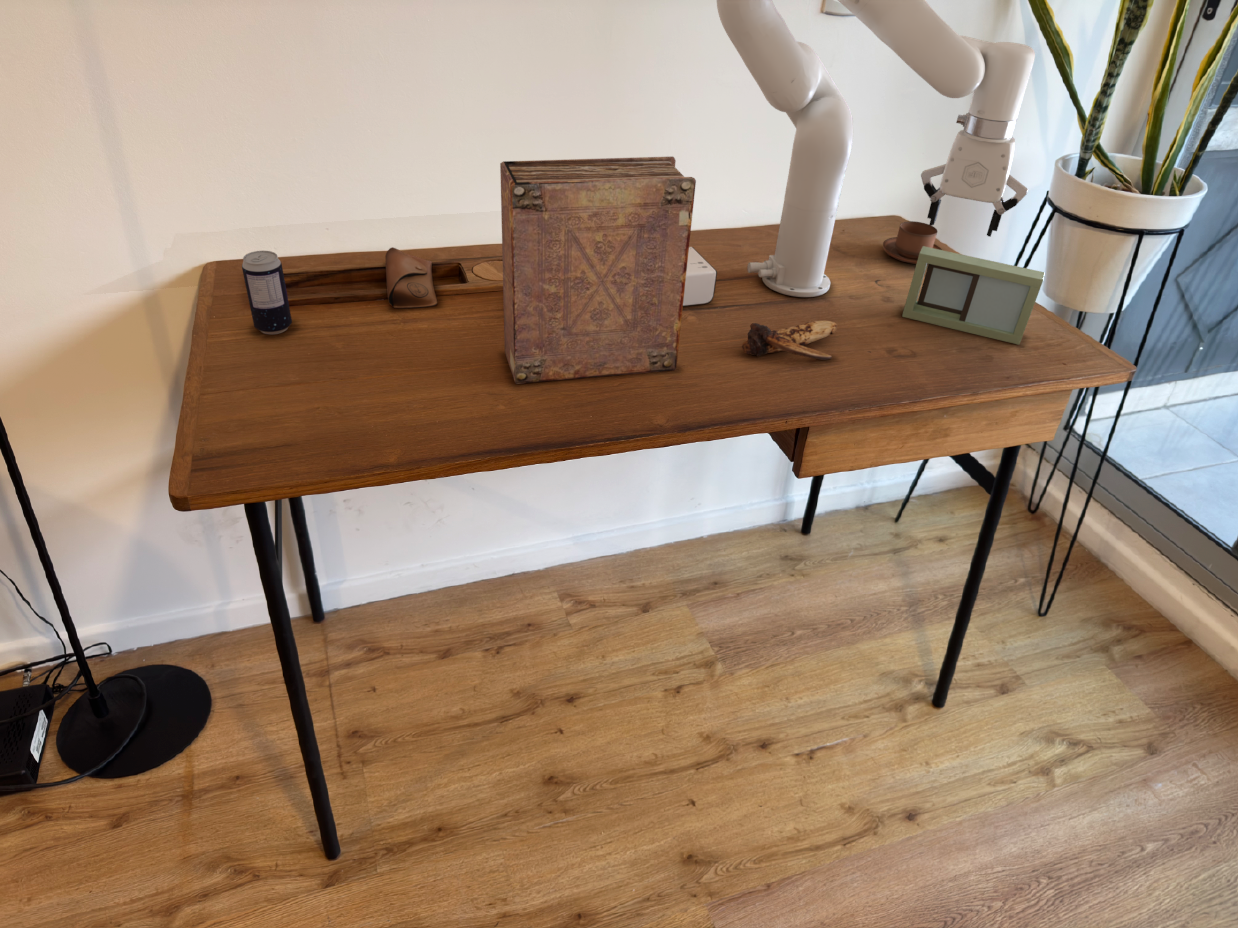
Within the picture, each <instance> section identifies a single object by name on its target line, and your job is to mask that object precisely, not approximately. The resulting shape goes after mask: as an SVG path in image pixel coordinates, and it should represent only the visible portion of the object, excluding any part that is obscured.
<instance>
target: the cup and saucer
mask: <svg viewBox="0 0 1238 928" xmlns="http://www.w3.org/2000/svg"><path fill="white" fill-rule="evenodd" d="M929 224H930V223H929ZM929 224H928V223H926V222H922V221H913V220H912V221H911V220H910V221H903V222H901V223H900V224H899V228H898V232H897V236H894V237H889V238H887V239H885V240H883V242H882V248H883V250H884V251H885V253H886V254H887V255H888V256H890V258H891V257H892V258H893V259H895V260H897V261H900V262H903V263H906V264H911V265H916V264H917V261H918V257H919V253H920V251H921V249H922V247H923V246H925V247H929V248H934V249H939V250H943V249H942V248H941V247H940V246H939V245H937V244H935V243H936V242H935V241H936V238H937V235H938V229H937V228H936V227H935V226H934V225H929ZM927 265H928V263H927Z"/></svg>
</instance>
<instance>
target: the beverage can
mask: <svg viewBox="0 0 1238 928" xmlns="http://www.w3.org/2000/svg"><path fill="white" fill-rule="evenodd" d="M242 260H243V261H242V265H241V269H242V273H243V279H244V284H245V290H246V294H247V299H248V305H249V309H250V314H251V318H252V323H253V327H254V328H255V329H256V330H258V331H259V332H260V333H262V334H264V335H278V334H282V333H284V332H286V331H287V330H288V328H289V327H290V326H292V323H293V319H292V315H291V308H290V303H289V297H288V296H289V295H288V292H287V286H286V281H285V273H284V268H283V264H282V261H281V259H279V257H278V253H276V252H273V251H271V250H254V251H251V252H248V253H246V254H245V255H243V257H242Z"/></svg>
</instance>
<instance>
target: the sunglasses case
mask: <svg viewBox="0 0 1238 928" xmlns="http://www.w3.org/2000/svg"><path fill="white" fill-rule="evenodd" d="M432 267H433V261H431V260H429V259H425V258H422V257H418V256H416V255H412V254H408V253H406V252H404V251H402V250H400V249H398V248H396V247H389V248H388V250H387V251H386V253H385V276H386V277H385V279H386V295H387V300H388V304H389V305H390V306H391V307H392V308H394V309H419V308H420V309H421V308H422V309H423V308H428V307H429V308H430V307H434V306H437V305H438V299H437V295H436V292H435V287H434V282H433V281H434V280H433V270H432Z"/></svg>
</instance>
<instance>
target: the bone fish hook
mask: <svg viewBox="0 0 1238 928" xmlns="http://www.w3.org/2000/svg"><path fill="white" fill-rule="evenodd" d="M749 327H750V329H749V330H748V332H747V340H745V341H744V342H743V343H742V344H741V348H742V351H743V352H744V353H745V354H747V355H752V356H753V355H754V356H757V357H760V356H764V355H766V354H767V355H768V354H772V353H778V352H783V351H784V352H786V353H791V354H794V355H795V356H800V357H805V358H809V359H813V360H814V359H815V360H821V361H825V360H827V361H828V360H830V359H832V358H833V357H832V355H830V354H827V353H825V352H822V351H820V350H816V349H813V348H810V347H807V345H808V344H811V343H814V342H817V341H819V340H822V339H824V338H827V337H830V335H834V334H835V333H837V332H836V331H837V327H838V325H837V323H836V322H835V321H831V320H823V319H822V320H815V321H810V322H809V321H808V322H804V323H801V324H796V325H793V326H791V327H786V328H781V329H778V330H776V329H771V328H769V327H768V326H767V325H765V324H760V323H757V322H752V323H750V325H749Z"/></svg>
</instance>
